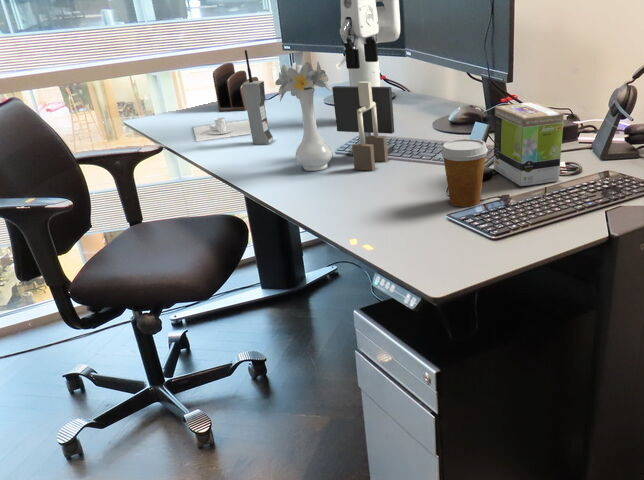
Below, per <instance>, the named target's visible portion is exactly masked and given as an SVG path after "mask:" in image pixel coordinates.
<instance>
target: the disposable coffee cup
mask: <svg viewBox="0 0 644 480" xmlns="http://www.w3.org/2000/svg"><path fill="white" fill-rule="evenodd" d="M488 152H489V148H488V147H487V144H486V142H485V141H484V140H481V139H476V138H458V139H457V138H456V139H453V140H448V141H446V142H445V143H443V144H442V149H441V150H440V154H441V156H442V158H443V164H444V171H445V179H446V183H447V184H446V186H447V190H448V197H449V203H450V204H451V205H452V206H455V207H460V208H461V207H464V208H465V207H472V206H475V205H478V204H479V203H480V202H481V194H482V188H483V187H482V186H483V178H484V171H485V164H486V163H485V162H486V156H487V154H488Z"/></svg>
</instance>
